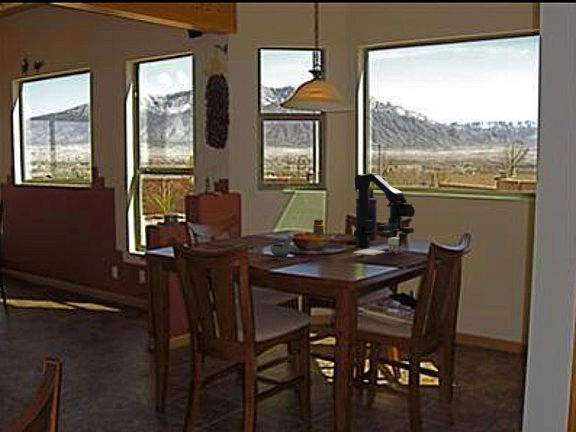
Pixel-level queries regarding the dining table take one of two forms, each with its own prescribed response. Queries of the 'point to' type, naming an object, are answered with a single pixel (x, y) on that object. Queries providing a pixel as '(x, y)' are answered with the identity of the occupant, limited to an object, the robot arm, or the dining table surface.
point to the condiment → (318, 227)
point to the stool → (394, 244)
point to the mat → (369, 252)
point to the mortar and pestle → (282, 249)
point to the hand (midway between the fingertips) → (395, 245)
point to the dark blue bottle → (372, 211)
